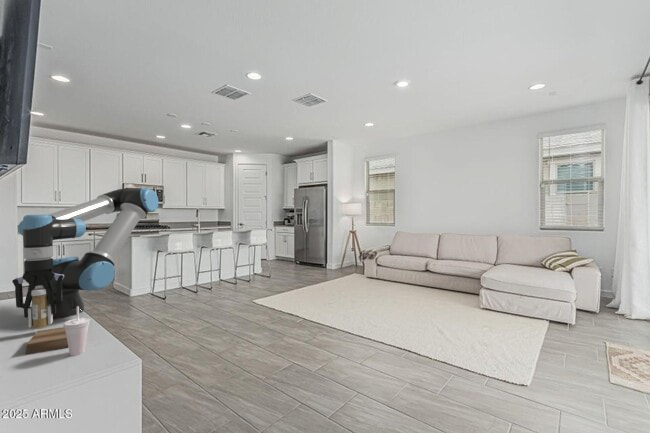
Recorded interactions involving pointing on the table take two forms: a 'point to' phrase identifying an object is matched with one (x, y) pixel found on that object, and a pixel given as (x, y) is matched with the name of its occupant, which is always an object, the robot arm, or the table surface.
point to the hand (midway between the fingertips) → (40, 324)
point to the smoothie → (77, 334)
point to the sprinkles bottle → (39, 308)
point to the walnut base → (47, 340)
